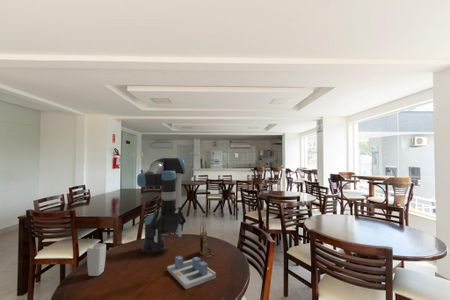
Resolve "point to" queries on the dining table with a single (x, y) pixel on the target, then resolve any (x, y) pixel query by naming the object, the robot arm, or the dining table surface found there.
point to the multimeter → (203, 242)
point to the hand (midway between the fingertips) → (168, 239)
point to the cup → (96, 259)
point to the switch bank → (190, 275)
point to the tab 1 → (179, 262)
